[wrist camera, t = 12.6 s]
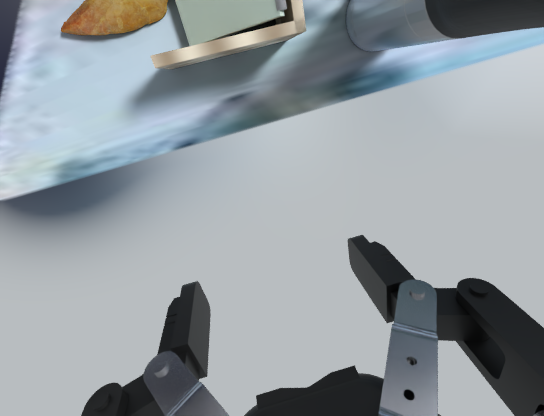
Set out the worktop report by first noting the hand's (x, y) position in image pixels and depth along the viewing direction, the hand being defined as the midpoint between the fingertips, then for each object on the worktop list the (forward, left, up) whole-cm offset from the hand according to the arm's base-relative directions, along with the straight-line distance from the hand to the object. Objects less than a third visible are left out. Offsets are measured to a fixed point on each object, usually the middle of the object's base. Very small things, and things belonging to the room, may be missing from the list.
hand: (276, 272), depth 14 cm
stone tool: (+3, -20, -33) cm, 39 cm away
